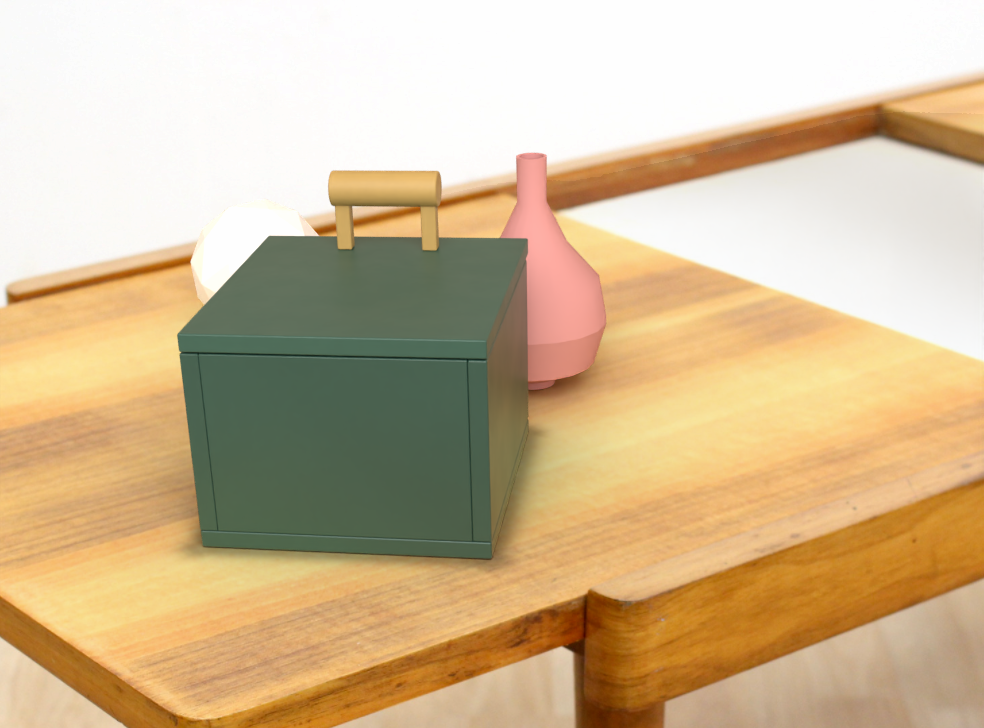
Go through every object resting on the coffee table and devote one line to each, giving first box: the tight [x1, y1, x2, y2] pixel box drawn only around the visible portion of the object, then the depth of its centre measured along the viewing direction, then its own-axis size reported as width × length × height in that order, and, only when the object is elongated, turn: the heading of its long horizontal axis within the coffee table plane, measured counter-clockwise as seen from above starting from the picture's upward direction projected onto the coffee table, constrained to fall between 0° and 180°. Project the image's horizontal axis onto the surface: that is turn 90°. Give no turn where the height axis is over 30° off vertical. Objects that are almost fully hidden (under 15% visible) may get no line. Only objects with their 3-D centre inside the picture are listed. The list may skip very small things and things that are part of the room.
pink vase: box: [499, 152, 607, 391], centre depth 80 cm, size 8×8×12 cm
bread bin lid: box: [176, 169, 528, 359], centre depth 67 cm, size 14×13×4 cm
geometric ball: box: [189, 198, 320, 306], centre depth 90 cm, size 8×8×8 cm
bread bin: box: [179, 260, 530, 560], centre depth 70 cm, size 14×13×9 cm
